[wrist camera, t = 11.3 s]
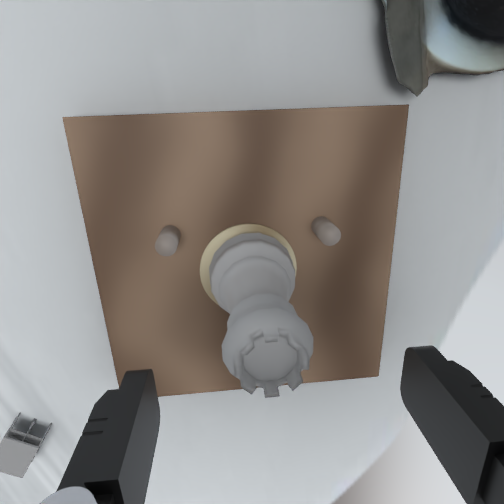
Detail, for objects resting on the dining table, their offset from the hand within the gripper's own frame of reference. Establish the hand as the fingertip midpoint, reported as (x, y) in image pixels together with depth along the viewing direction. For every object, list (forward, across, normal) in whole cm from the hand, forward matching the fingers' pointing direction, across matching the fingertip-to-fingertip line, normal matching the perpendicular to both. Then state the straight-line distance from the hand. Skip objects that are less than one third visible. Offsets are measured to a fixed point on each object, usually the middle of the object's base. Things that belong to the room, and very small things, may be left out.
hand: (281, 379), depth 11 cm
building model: (+10, +16, +11) cm, 22 cm away
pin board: (+10, 0, 0) cm, 10 cm away
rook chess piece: (+9, 0, 0) cm, 9 cm away
